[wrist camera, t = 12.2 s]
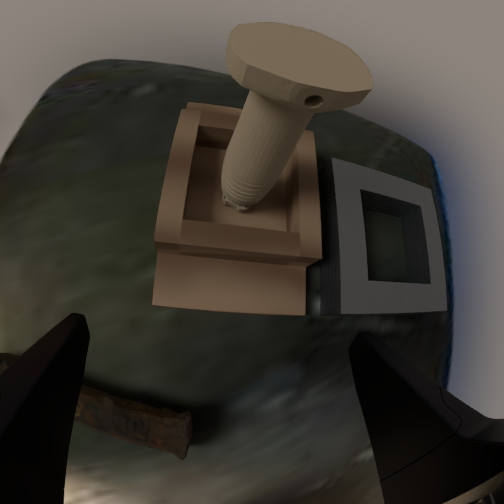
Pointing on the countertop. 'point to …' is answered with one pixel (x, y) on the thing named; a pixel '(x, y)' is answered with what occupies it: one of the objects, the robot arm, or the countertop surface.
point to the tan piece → (233, 226)
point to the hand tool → (129, 419)
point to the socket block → (354, 244)
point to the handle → (282, 99)
